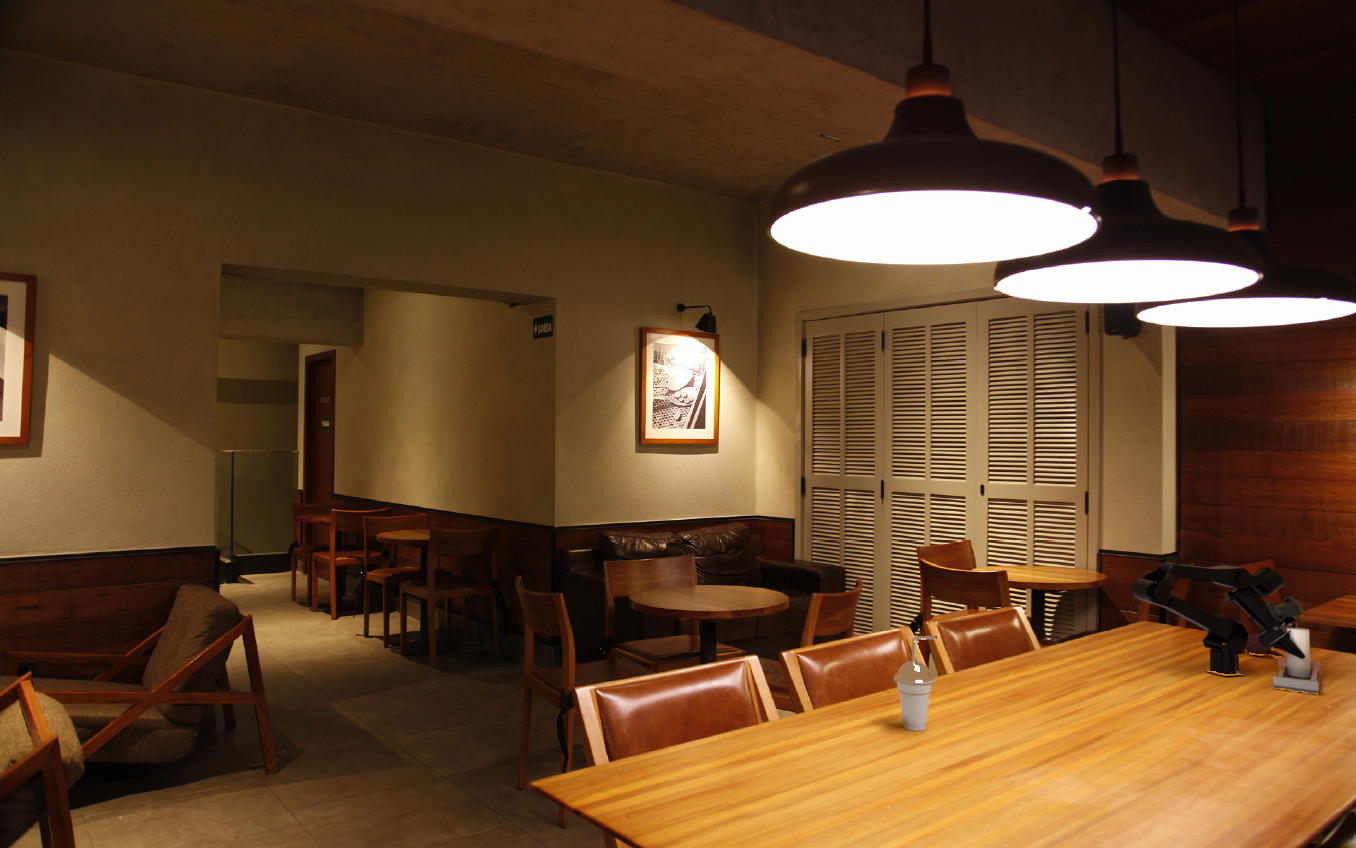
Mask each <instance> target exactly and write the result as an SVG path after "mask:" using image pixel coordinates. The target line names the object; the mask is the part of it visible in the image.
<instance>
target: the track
mask: <svg viewBox="0 0 1356 848" xmlns="http://www.w3.org/2000/svg"><path fill="white" fill-rule="evenodd" d="M1277 661H1278V662H1277V663H1278V671H1279V672H1278V671H1277V675H1273V677H1272V679H1273V688H1274V687H1275V688H1285V689H1290V690H1294V691H1304V692H1309V693H1318V692H1319V693H1320V688H1319V685H1320V686H1321V681H1320V678H1321V679H1322V673H1321V661H1315V660H1310V676H1311V677H1309V678H1302V677H1294V676H1290V675H1287V657H1278V660H1277Z"/></svg>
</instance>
